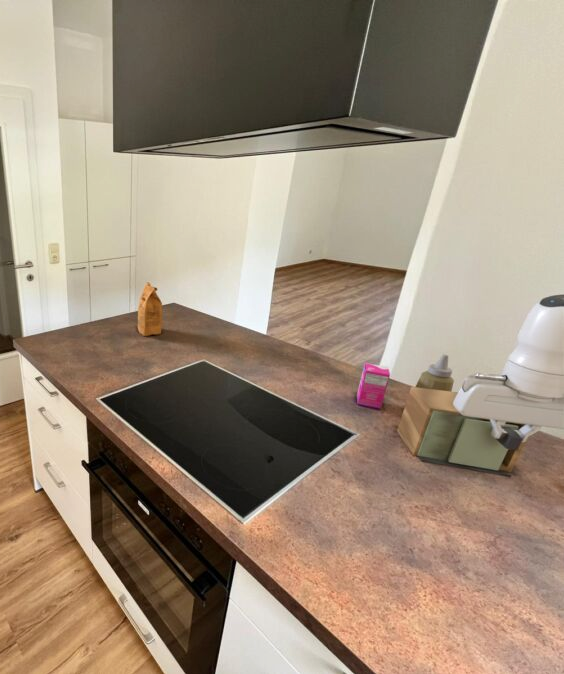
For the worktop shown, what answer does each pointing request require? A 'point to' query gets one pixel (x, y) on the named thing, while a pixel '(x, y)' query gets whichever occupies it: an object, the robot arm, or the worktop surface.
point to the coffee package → (149, 312)
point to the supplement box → (373, 386)
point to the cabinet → (441, 429)
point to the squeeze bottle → (437, 376)
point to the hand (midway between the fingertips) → (507, 438)
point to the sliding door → (482, 444)
